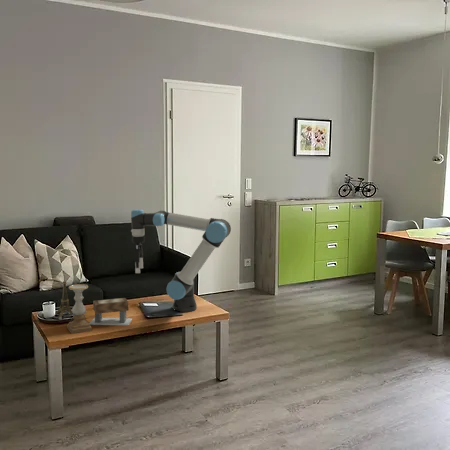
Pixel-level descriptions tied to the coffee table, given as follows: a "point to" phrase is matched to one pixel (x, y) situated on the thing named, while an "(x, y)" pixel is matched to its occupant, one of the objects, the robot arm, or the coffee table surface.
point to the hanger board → (111, 320)
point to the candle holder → (78, 311)
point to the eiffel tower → (64, 300)
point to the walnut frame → (110, 305)
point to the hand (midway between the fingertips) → (139, 270)
